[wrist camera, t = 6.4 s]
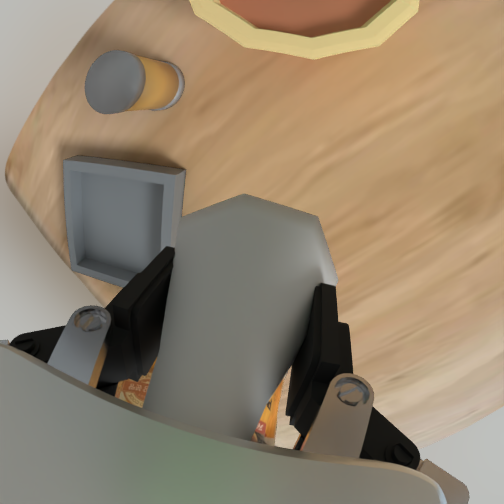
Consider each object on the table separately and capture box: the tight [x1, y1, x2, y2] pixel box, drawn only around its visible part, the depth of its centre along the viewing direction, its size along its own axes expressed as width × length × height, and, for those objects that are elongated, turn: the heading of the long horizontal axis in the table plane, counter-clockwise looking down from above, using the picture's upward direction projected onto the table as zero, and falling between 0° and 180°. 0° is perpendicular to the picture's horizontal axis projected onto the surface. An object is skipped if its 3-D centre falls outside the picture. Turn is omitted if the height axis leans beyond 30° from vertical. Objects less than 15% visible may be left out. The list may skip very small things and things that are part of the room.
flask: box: [142, 194, 338, 441], centre depth 9 cm, size 7×7×10 cm
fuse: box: [85, 50, 185, 114], centre depth 20 cm, size 5×5×8 cm
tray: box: [63, 155, 186, 288], centre depth 29 cm, size 13×13×2 cm
